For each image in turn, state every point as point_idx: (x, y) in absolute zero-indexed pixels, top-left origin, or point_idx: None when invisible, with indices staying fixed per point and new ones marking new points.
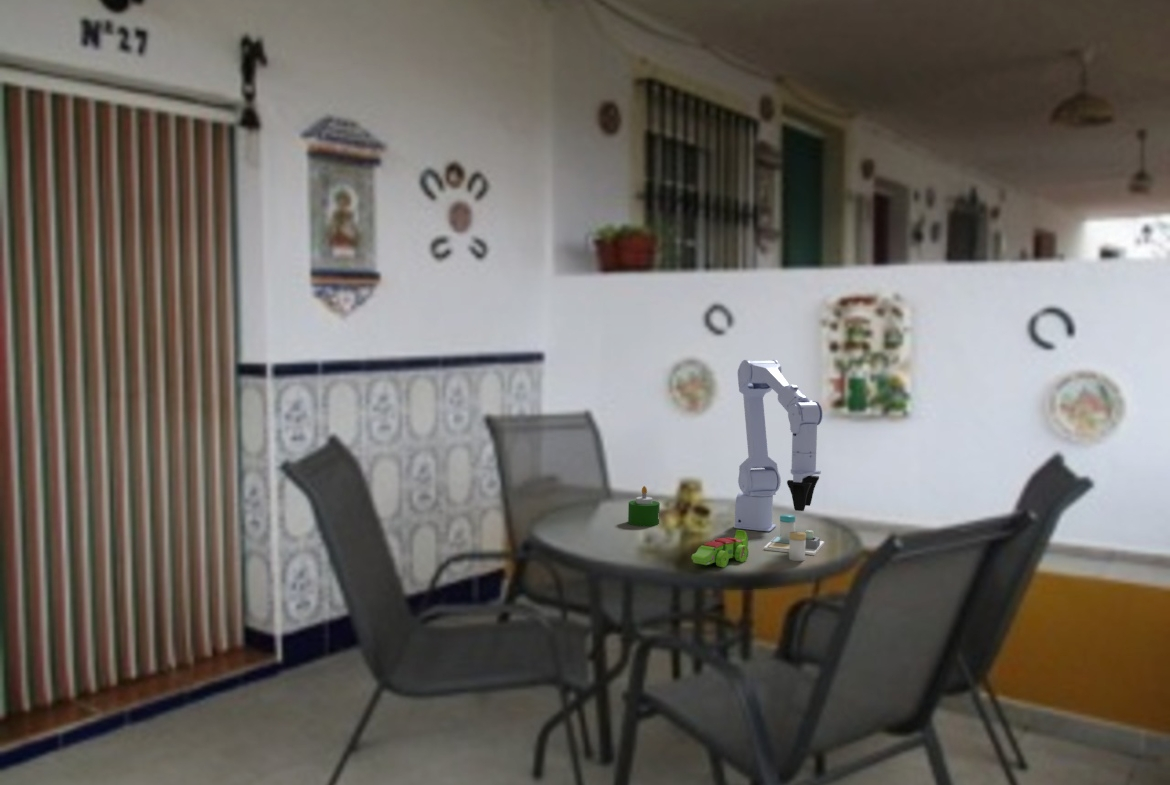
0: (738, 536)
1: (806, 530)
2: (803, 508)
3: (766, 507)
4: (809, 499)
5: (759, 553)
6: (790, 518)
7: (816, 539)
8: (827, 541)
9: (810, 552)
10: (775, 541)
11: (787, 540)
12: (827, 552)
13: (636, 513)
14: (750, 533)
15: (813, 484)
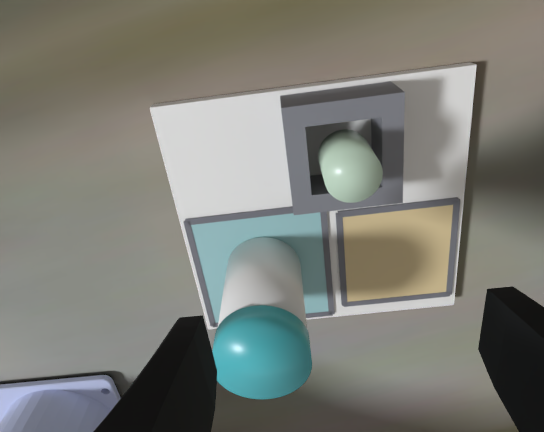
0: None
1: (343, 196)
2: (535, 302)
3: None
4: (192, 366)
5: (525, 290)
6: (301, 337)
7: (349, 109)
8: (80, 107)
9: (473, 89)
10: (320, 300)
11: (298, 262)
12: (358, 16)
13: None
14: None
15: None
